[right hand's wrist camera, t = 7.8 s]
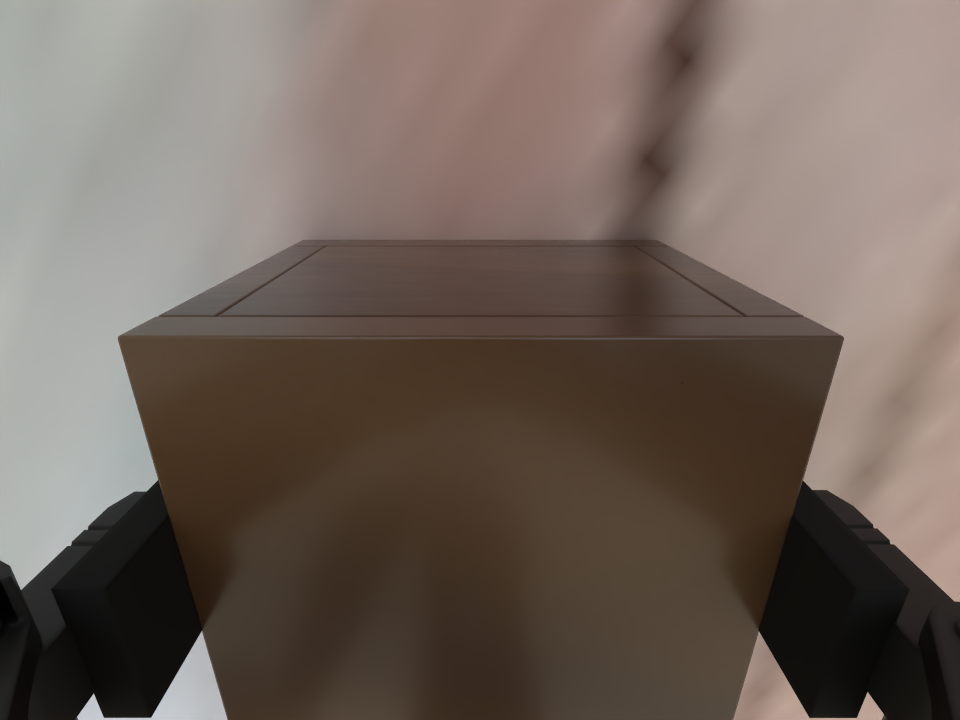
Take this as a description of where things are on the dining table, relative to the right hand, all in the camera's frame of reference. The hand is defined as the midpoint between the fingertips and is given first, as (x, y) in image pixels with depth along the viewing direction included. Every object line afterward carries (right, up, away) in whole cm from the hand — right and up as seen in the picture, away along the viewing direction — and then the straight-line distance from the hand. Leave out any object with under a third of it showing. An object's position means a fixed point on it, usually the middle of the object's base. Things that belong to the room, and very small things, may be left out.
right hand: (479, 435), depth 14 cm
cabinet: (0, -2, +4) cm, 5 cm away
